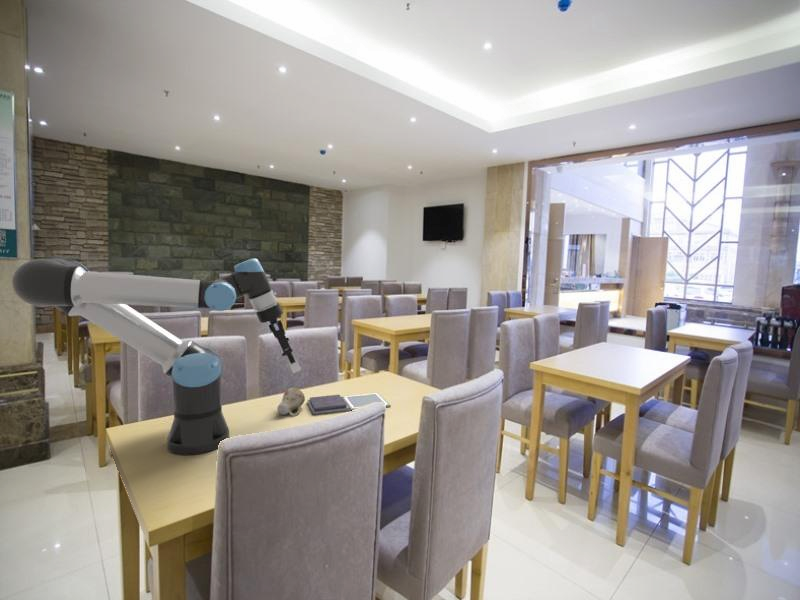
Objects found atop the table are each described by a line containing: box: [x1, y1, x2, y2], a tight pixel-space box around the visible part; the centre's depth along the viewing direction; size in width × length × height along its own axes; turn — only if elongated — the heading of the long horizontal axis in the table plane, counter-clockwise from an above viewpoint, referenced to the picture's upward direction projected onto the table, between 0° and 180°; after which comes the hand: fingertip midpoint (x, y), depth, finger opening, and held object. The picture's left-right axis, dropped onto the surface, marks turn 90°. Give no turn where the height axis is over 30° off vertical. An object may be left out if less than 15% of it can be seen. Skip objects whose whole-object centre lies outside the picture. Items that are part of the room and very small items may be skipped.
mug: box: [277, 387, 306, 417], centre depth 136 cm, size 8×10×10 cm
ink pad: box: [306, 394, 350, 415], centre depth 141 cm, size 12×12×2 cm
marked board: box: [340, 392, 391, 411], centre depth 146 cm, size 14×14×1 cm
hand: (294, 365), depth 133 cm, fingers open, 13 cm apart
